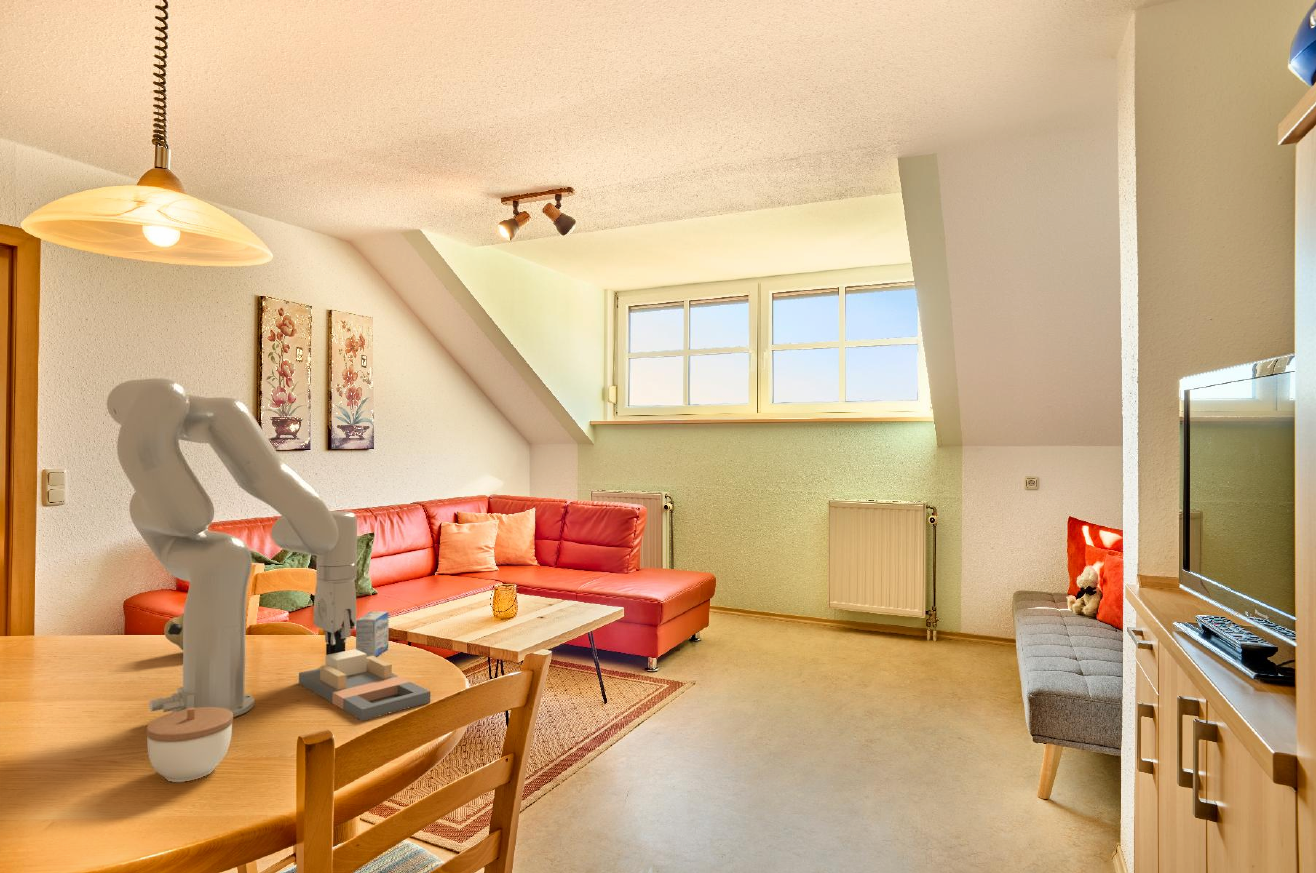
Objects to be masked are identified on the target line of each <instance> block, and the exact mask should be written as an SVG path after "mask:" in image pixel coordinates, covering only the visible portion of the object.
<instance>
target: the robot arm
mask: <svg viewBox="0 0 1316 873" xmlns="http://www.w3.org/2000/svg"><path fill="white" fill-rule="evenodd" d="M106 409H107V411H108V414H109V415H110V417H111V419H113V420H114V422H116V423H117V424H119V425H120V428H119V433H118V437H117V443H116V451H117V457H118V462H119V464H120V467H121V468H122V471H123V473H124V474H125V477H127V479H128V481H129V482H130V484H131V486H132V488H133V490H134V493H133V495H132V496H131V499H130V502H129V514H130V515H129V516H130V519H131V522H132V523H133V525H134V527H135V529H136V530H137V532H138V533H139V535H140V536H141V537H142V539H143V540H144V541H145V543H146V544H147V546H148V547H149V549H150V550H151V552H152V553H153V554H154V555H155V557H156V558H157V560H158V561H159V563H160V564H161V565H162V567H163V568H164V569H165V570H166V571H167V573H169V574H170V575H171V576H173V577H175V578H176V579H179V580H181V581H185V582H188V583H189V587H188V591H187V594H186V598H185V602H184V607H183V608H184V609H183V613H184V618H183V627H184V632H183V650H182V654H183V655H182V686H181V687H177V688H176V693H171V695H170V696H168V697H164V698H163V697H160V698H155V699H150V700H149V711H150V712H151V713H152V712H157V711H161V710H162V713H166V712H167V713H168V712H171V713H173V712H176V711H180V710H185V709H188V708H192V707H194V708H199V707H220V708H225V709H228V710H230V711H231V712H232V713H233V718H235V717H238V716H241V715H244V714H245V713H247V712H248V711H250V710H252V708H253V707H254V705H255V698H254V696H252V695H251V694H249V693H245V692H246V691H245V689H246V688H245V686H246V684H245V682H246V629H247V628H246V627H247V626H246V623H247V622H246V621H247V620H246V619H247V618H246V617H247V616H246V615H247V614H246V613H247V595H248V588H249V587H248V586H249V582H250V577H251V572H252V565H253V558H252V557H253V556H252V553H251V551H250V548H249V546H248V545H247V544H246V542H244V541H243V540H242V539H241V538H239V537H238V536H235V535H233V534H229V533H225V532H221V531H214V530H209V529H208V528H209V527H210V526H211V524H212V523H213V520H214V517H215V508H214V503H213V501H212V499H211V497H210V496H209V494H208V493H207V490H206V489H205V488H204V487H203V485H202V483H201V482H200V481H199V479H198V478H197V476H196V474H195V473H194V471H193V470H192V468H191V467H190V465H189V464H188V462H187V460H186V458H185V456H184V454H183V452H182V450H181V448H180V443H179V442H180V441H185V442H191V443H198V444H209V445H210V447H211V448H212V450H213V451H214V452H215V454H216V455H217V457H218V458H219V460H220V462H221V463H222V464H223V466H224V467H225V468H226V470H227V471H228V472H229V474H230V475H231V476H232V479H233V480H234V481H235V483H236V484H237V486H239V488H241V489H242V490H243V491H245V493H247V494H249V495H251V496H252V497H254V498H256V499H257V500H259V501H261V502H263V503H264V504H267V505H268V506H269V507H271V508H272V509H273V510H275V511H276V512H278V514H280V515H281V516H280V517H279V518H278V519H277V520H275V522H274V523H273V525H272V527H271V530H270V535H271V539H272V541H273V543H274V544H275V545H276V547H279V548H280V549H282V550H284V551H288V552H293V553H297V554H306V555H309V556H316V572H315V573H316V574H315V575H316V577H315V578H316V581H315V582H316V584H315V589H314V598H313V600H314V601H313V617H312V619H313V620H312V621H313V625H314V626H315V627H317V628H319V629H321V630H323V631H324V636H325V637H324V639H325V641H324V642H325V643H326V645H325V656H326V655H329V654H334V653H339V652H343V651H346V643H347V639H348V638H351V637H352V634H351V630H353V629H355V628H356V620H357V595H356V594H357V593H356V592H357V591H356V584H355V580H357V573H358V572H357V566H358V563H357V562H358V560H357V559H358V557H357V556H358V555H357V554H358V518H357V517H358V516H357V515H356V513H354V512H351V511H346V510H345V511H344V510H334V511H330V510H329V508H328V507H327V504H325V502H324V501H323V499H322V498H321V496H320V495H319V494H318V493H317V492H316V491H315V490H314V489H313V488H312V487H311V486H310V485H309V484H308V483H307V482H306V481H305V480H304V479H303V478H301V476H299V475H298V474H297V473H296V471H294V470H293V469H292V468H290V466H288V465H287V464H286V463H285V461H284V460H283V459H282V458H281V456H280V454H278V452H277V450H276V449H275V447H274V446H273V445H272V442H271V441H270V440H269V438H268V437H267V435H266V433H265V432H264V430H263V429H262V427H261V425H259V423H258V420H256V418H255V416H254V415H253V413H252V412H251V410H250V409H249V408H248V407H247V405H246V404H244V403H243V402H242V401H240V400H238V399H235V398H231V397H201V396H197V395H192V394H188V392H187V390H186V389H185V388H184V386H183V385H181V384H179V383H178V382H176V381H174V380H171V379H167V378H159V377H158V378H154V377H153V378H145V379H143V378H142V379H132V380H127V381H123V382H121V383H119V384H117V385H116V386H115V387H114V388H113V389H111V391H110V392H109V394H108V396H107V399H106ZM179 440H180V441H179Z"/></svg>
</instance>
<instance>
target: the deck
mask: <svg viewBox="0 0 1316 873" xmlns="http://www.w3.org/2000/svg"><path fill="white" fill-rule="evenodd" d="M392 666H393V664H391V663H390V662H387V661H386V660H383V659H382V658H379V657H374V656H369V657H367V672H362V673H358V674H353V675H349V676H346V674H344V673H342V672H340V671H338V670H336V669H335V668H333V667H331V666H329V665H326V664H325V665H323V666H320V667H319V668H315V669H310V670H306V671H301V672H298V684H300V685H302V686H303V687H305V688H306V689H308V690H310V691H312V692H313V693H315V694H317V695H318V696H320V697H321V698H324V699H325V700H327V701H329V702H330V703H331V704H333V705H335V706H337V707H339V708H340V709H342V710H343V711H344V712H346V713H348V714H350V715H351V716H353V717H355V718H357V719H358V720H360V721H362V722H363V721H366V720H371V719H374V718H373V717H375V718H378V717H380V716H379V715H382V716H385V715H384V714H386V713H389V712H393V713H395V712H394V711H397V712H399V711H398V710H400V711H402V710H401V709H404V708H407V709H409V708H408V707H411V708H414V707H417V706H421V705H425V704H428V703H431V690H428V689H426V688H424V687H422V686H420V685H418V684H416V683H414V682H411V681H410V680H408V679H405V678H403V677H401V676H399V675H396V674H394V673H392V671H393V670H392V669H393V667H392ZM404 710H405V709H404ZM389 714H390V713H389ZM386 715H387V714H386ZM377 716H378V717H377Z"/></svg>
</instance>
